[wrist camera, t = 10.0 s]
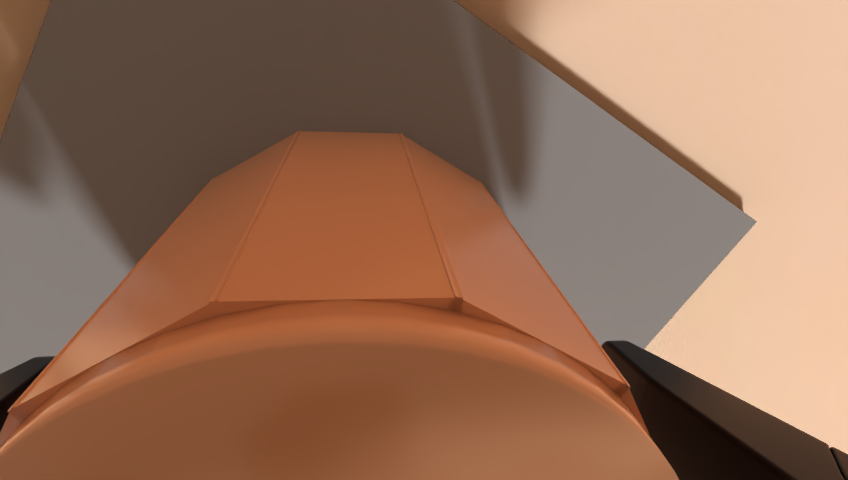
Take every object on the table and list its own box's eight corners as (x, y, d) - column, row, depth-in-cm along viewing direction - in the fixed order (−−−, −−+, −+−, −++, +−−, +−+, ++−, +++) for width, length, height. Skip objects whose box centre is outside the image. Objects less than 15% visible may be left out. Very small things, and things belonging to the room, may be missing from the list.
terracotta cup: (121, 354, 11) (-184, 795, 5) (274, 54, 9) (92, 146, 3) (404, 464, 14) (446, 867, 7) (578, 240, 12) (852, 523, 5)
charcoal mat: (-71, 358, 11) (-85, 370, 11) (146, -221, 8) (136, -232, 8) (458, 542, 16) (461, 555, 15) (744, 215, 12) (756, 221, 12)
